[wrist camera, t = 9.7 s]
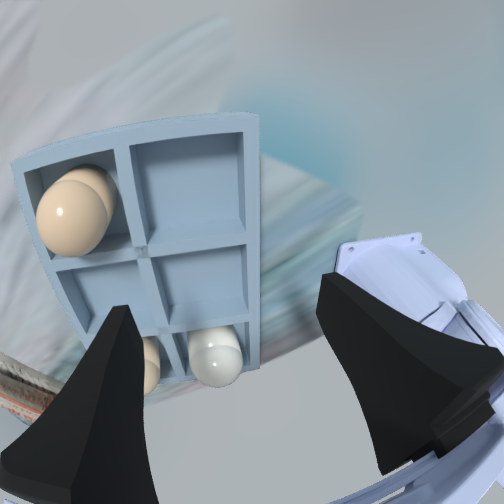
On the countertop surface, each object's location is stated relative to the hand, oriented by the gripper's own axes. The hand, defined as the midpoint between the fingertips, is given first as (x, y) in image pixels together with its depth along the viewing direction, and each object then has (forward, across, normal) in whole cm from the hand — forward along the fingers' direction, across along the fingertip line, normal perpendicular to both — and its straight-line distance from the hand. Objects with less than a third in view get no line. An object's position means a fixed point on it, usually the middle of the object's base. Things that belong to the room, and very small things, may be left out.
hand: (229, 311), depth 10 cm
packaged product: (+10, +26, +18) cm, 33 cm away
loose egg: (+8, +7, -2) cm, 11 cm away
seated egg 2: (+8, +1, +10) cm, 13 cm away
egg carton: (+9, +4, +4) cm, 11 cm away
